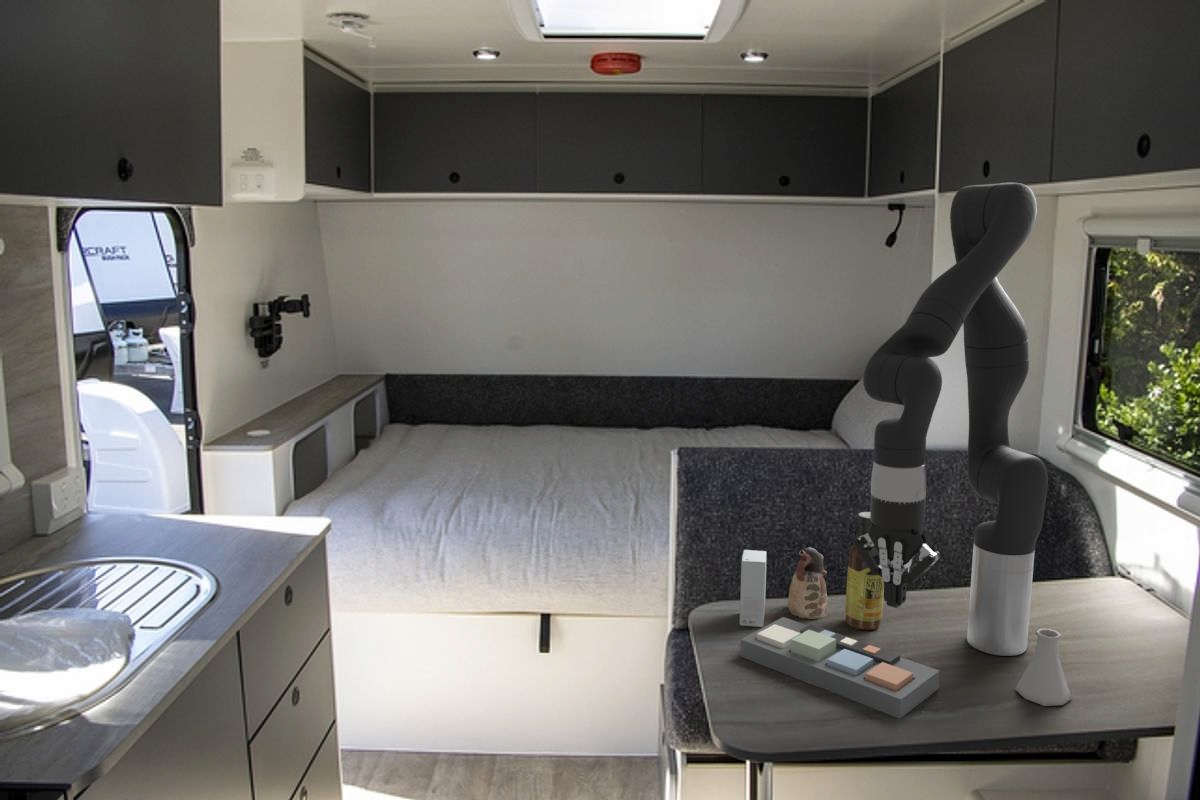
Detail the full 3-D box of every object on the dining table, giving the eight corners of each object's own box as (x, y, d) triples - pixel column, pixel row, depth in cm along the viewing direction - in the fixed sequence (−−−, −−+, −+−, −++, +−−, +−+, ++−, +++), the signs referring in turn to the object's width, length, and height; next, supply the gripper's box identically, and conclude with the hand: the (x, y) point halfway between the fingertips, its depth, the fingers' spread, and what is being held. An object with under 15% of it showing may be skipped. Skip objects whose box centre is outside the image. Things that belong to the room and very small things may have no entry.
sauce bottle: (868, 635, 163) (873, 523, 160) (837, 623, 168) (842, 515, 164) (889, 624, 168) (895, 515, 164) (858, 613, 172) (864, 507, 168)
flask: (1005, 689, 145) (1010, 627, 143) (1041, 679, 148) (1046, 619, 146) (1044, 711, 138) (1050, 647, 136) (1081, 701, 141) (1087, 638, 139)
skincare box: (764, 628, 167) (765, 562, 164) (739, 626, 167) (740, 561, 165) (765, 613, 172) (767, 550, 170) (741, 612, 173) (742, 549, 171)
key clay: (881, 677, 146) (882, 662, 145) (912, 688, 142) (913, 672, 142) (864, 688, 142) (865, 673, 142) (895, 700, 139) (896, 684, 139)
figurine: (836, 613, 172) (839, 550, 170) (807, 622, 169) (809, 557, 166) (808, 600, 178) (810, 538, 176) (779, 608, 175) (781, 546, 172)
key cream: (774, 638, 159) (774, 624, 159) (800, 647, 156) (800, 633, 155) (756, 647, 156) (757, 633, 155) (782, 657, 152) (783, 643, 152)
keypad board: (782, 633, 164) (783, 611, 164) (938, 688, 145) (940, 664, 144) (740, 656, 156) (740, 633, 155) (899, 718, 137) (901, 692, 136)
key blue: (843, 663, 150) (844, 648, 150) (872, 673, 147) (873, 658, 146) (826, 674, 147) (827, 659, 146) (855, 685, 144) (856, 669, 143)
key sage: (808, 643, 155) (808, 629, 154) (835, 653, 151) (836, 638, 151) (790, 654, 151) (791, 639, 151) (818, 664, 148) (818, 649, 147)
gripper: (954, 494, 136) (949, 609, 139) (869, 478, 145) (866, 586, 148) (930, 507, 130) (925, 626, 134) (843, 489, 139) (841, 601, 143)
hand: (894, 605), depth 141 cm, fingers closed
